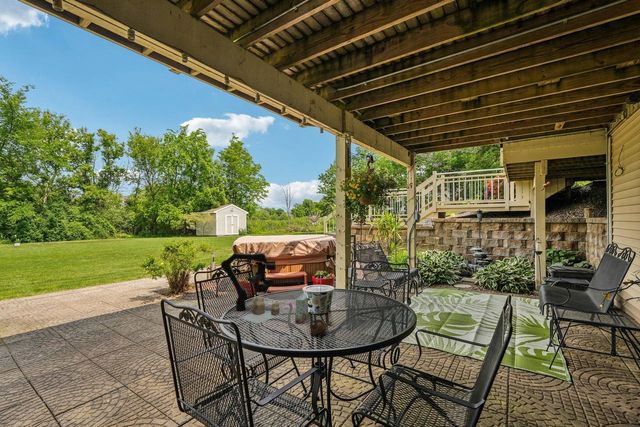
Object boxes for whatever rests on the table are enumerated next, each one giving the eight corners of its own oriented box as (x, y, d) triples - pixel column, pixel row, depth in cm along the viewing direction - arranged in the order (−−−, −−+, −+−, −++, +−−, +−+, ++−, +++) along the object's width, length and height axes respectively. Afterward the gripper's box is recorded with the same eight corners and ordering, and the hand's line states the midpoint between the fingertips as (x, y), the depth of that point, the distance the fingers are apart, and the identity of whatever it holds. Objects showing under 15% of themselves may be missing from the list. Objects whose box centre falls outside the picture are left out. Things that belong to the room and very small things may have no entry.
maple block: (253, 304, 199) (253, 297, 200) (258, 303, 204) (258, 296, 204) (258, 306, 197) (258, 298, 197) (263, 304, 201) (263, 297, 201)
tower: (271, 314, 197) (271, 303, 198) (275, 313, 201) (275, 302, 201) (275, 315, 195) (275, 304, 195) (279, 314, 198) (279, 303, 199)
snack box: (303, 324, 183) (303, 300, 184) (294, 323, 184) (295, 299, 185) (311, 313, 204) (311, 292, 204) (303, 313, 205) (303, 291, 206)
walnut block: (252, 313, 199) (252, 304, 199) (258, 311, 204) (258, 302, 204) (258, 315, 196) (258, 306, 196) (264, 313, 201) (264, 304, 201)
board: (238, 319, 191) (238, 317, 191) (262, 310, 209) (262, 309, 209) (257, 325, 180) (257, 323, 180) (281, 315, 199) (281, 314, 199)
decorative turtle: (313, 339, 159) (313, 324, 160) (307, 331, 174) (306, 317, 174) (330, 337, 162) (329, 322, 163) (322, 329, 176) (321, 315, 177)
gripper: (243, 270, 209) (243, 292, 209) (262, 273, 199) (261, 296, 198) (255, 268, 218) (255, 289, 218) (273, 271, 208) (273, 293, 207)
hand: (260, 292), depth 210 cm, fingers open, 9 cm apart
